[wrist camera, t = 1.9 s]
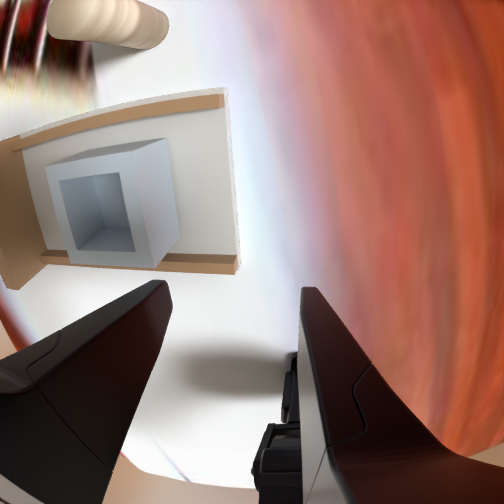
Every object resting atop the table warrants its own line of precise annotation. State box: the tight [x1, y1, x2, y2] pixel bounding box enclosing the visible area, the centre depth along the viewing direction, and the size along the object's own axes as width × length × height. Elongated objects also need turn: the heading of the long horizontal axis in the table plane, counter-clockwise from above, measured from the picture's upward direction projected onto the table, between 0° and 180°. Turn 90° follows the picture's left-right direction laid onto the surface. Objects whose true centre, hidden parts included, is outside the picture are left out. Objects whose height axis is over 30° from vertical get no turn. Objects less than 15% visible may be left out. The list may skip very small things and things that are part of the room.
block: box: [45, 138, 181, 268], centre depth 18 cm, size 7×7×4 cm
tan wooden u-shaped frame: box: [0, 87, 241, 290], centre depth 18 cm, size 20×12×6 cm, turn 93°
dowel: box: [46, 0, 169, 50], centre depth 12 cm, size 3×3×8 cm
